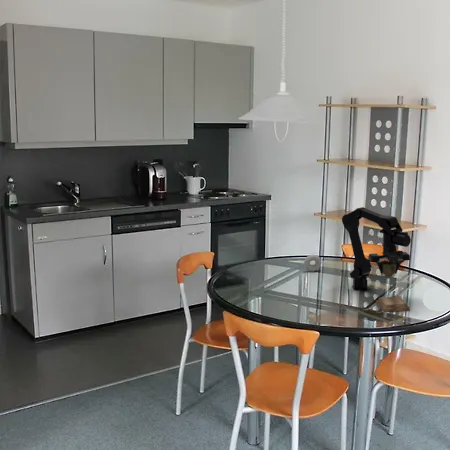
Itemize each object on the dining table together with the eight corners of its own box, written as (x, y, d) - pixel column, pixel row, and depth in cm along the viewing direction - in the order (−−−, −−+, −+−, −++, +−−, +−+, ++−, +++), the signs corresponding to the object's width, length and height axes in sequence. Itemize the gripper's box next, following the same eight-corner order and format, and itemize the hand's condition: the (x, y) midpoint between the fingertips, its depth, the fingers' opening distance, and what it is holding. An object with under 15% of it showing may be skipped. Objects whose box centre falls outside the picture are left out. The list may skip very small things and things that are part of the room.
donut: (305, 272, 328) (304, 255, 326) (303, 271, 331) (303, 254, 329) (322, 271, 329) (322, 254, 327) (320, 269, 333) (320, 253, 330)
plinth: (383, 311, 265) (383, 305, 265) (375, 302, 277) (376, 296, 277) (409, 310, 266) (409, 304, 265) (400, 301, 278) (400, 295, 277)
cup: (384, 274, 286) (384, 259, 285) (399, 276, 282) (399, 261, 280) (378, 278, 281) (378, 262, 279) (392, 281, 276) (393, 264, 275)
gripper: (375, 248, 269) (374, 280, 273) (414, 246, 270) (413, 278, 273) (368, 242, 280) (367, 273, 284) (406, 240, 281) (405, 271, 284)
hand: (388, 274), depth 281 cm, fingers closed on cup, 6 cm apart
